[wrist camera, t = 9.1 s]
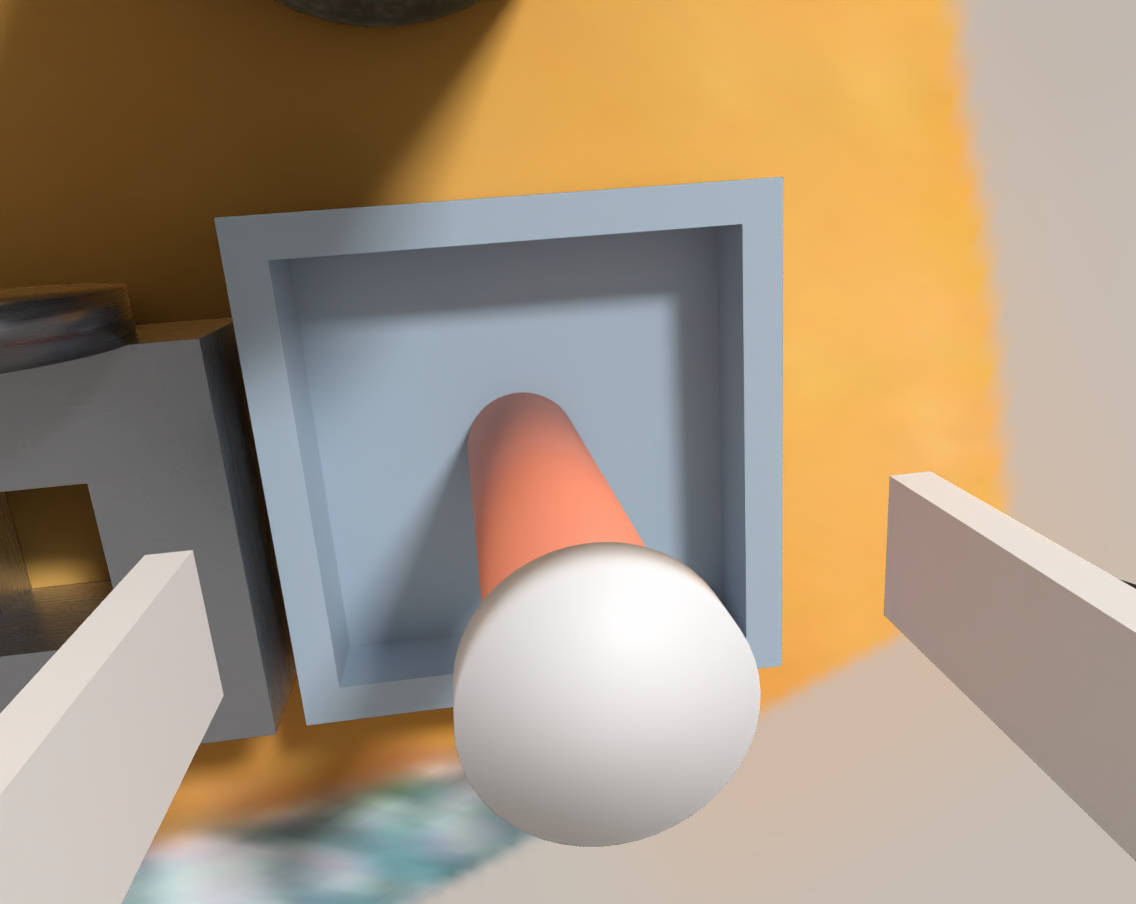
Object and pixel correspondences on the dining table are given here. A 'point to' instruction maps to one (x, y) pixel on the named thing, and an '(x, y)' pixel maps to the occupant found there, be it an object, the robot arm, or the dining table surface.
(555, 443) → the pin
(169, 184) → the dining table surface
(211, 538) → the block
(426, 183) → the dining table surface
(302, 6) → the mug
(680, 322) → the tray
